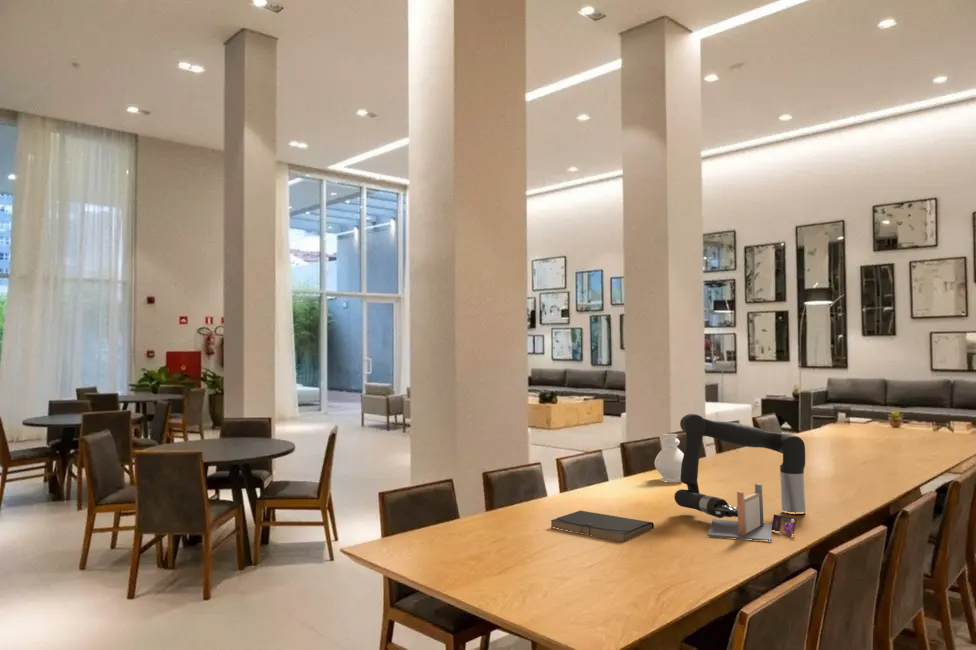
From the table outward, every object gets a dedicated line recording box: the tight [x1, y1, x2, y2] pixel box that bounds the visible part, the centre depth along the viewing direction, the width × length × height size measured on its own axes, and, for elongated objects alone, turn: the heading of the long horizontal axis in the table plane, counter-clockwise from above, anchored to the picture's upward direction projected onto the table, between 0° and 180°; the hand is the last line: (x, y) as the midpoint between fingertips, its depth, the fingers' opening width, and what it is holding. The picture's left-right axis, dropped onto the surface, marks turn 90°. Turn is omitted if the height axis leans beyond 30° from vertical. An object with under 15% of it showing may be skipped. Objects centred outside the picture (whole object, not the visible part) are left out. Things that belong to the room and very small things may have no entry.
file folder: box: [550, 510, 655, 543], centre depth 258 cm, size 33×4×24 cm
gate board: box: [707, 483, 773, 542], centre depth 250 cm, size 24×22×17 cm
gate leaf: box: [744, 491, 760, 533], centre depth 247 cm, size 14×2×13 cm, turn 137°
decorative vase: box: [654, 433, 684, 483], centre depth 352 cm, size 18×18×25 cm
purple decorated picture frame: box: [771, 514, 797, 535], centre depth 246 cm, size 7×5×9 cm
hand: (744, 515), depth 245 cm, fingers closed
